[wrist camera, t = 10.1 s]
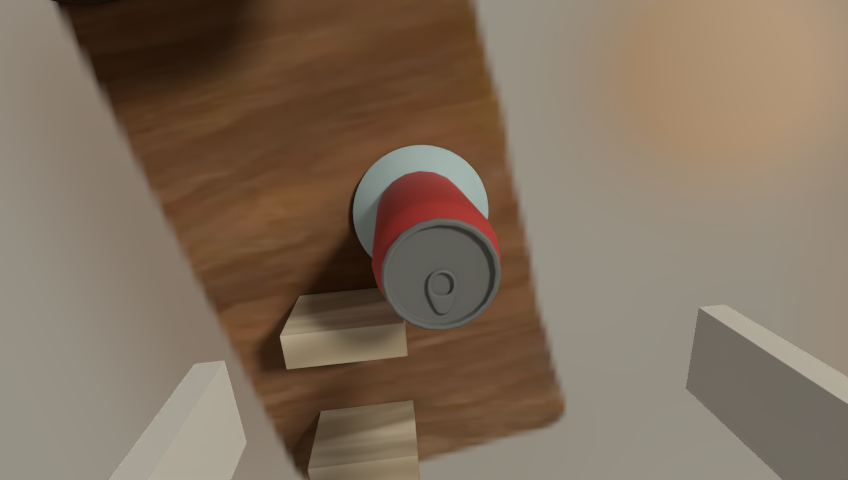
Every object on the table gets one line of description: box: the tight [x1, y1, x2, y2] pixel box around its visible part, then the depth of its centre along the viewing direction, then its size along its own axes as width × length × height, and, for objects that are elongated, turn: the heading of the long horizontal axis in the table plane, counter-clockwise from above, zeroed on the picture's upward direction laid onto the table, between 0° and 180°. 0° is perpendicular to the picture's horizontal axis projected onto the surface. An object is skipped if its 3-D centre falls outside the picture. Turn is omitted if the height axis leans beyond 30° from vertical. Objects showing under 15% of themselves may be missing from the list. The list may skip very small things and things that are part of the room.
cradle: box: [280, 288, 420, 480], centre depth 31 cm, size 14×8×6 cm, turn 4°
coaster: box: [353, 145, 488, 258], centre depth 30 cm, size 10×10×1 cm
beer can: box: [372, 171, 501, 330], centre depth 24 cm, size 7×7×12 cm
